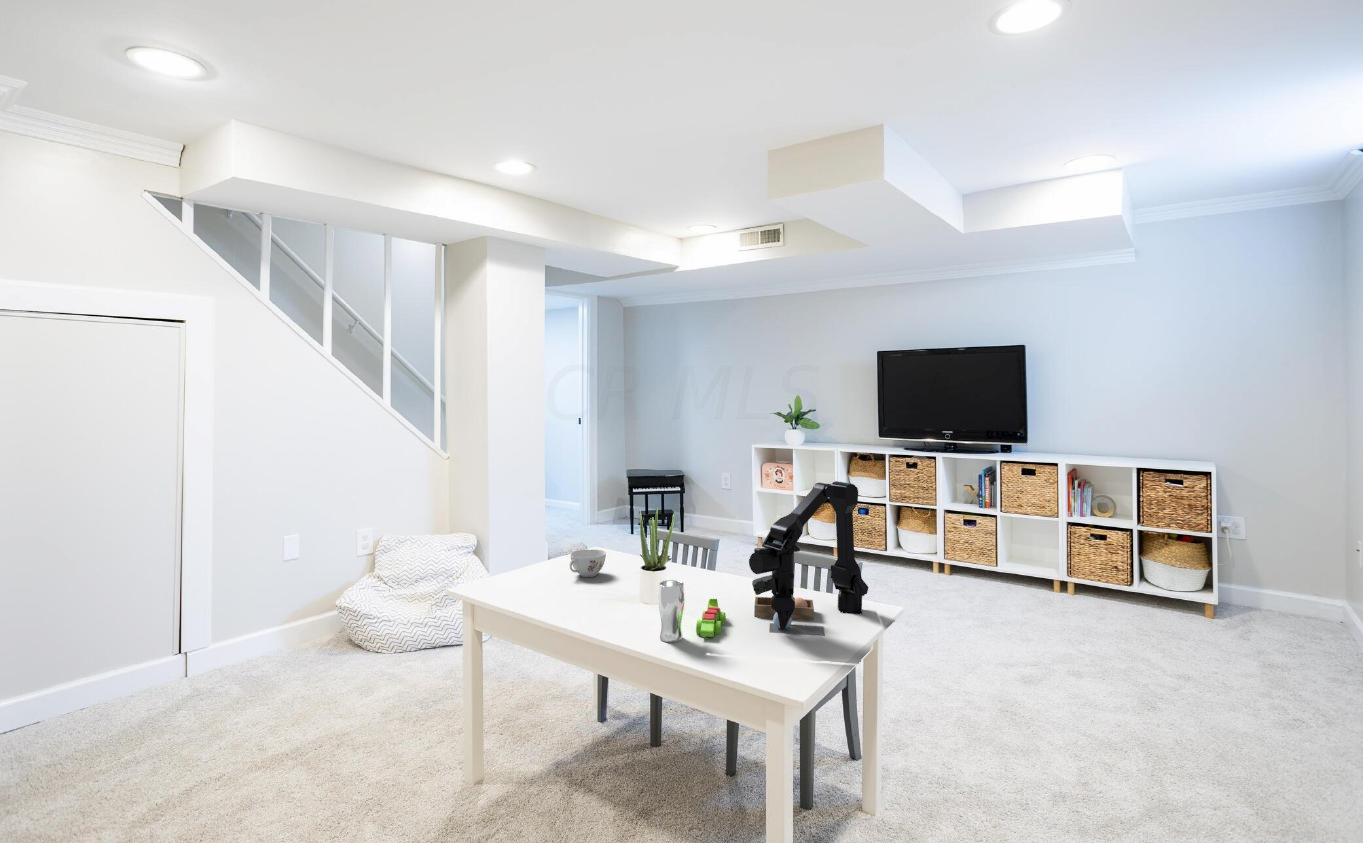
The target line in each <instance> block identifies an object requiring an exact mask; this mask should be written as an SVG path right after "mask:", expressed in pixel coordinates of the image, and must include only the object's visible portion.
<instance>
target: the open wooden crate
mask: <svg viewBox="0 0 1363 843" xmlns="http://www.w3.org/2000/svg"><path fill="white" fill-rule="evenodd" d="M771 601H772V596H771V597H768V596H755V598H754V615H753V616H754V618H767V619H773V617H774V615H775V613H776V611H775V610H773V609H772V608H771Z"/></svg>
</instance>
